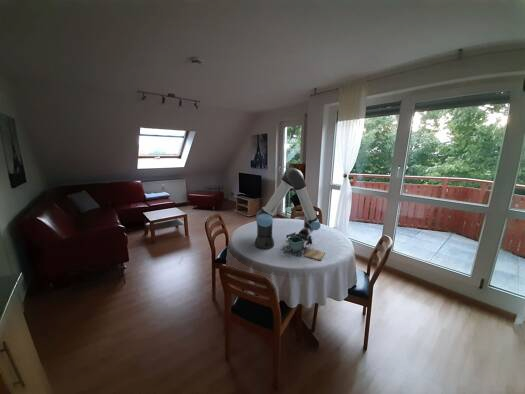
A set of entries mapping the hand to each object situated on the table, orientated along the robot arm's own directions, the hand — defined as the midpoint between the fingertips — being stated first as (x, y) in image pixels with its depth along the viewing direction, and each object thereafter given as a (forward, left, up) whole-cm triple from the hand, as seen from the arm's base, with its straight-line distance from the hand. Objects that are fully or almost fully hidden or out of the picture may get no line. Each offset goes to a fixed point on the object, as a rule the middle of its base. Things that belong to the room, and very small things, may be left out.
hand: (295, 243), depth 151 cm
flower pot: (0, +2, -7) cm, 7 cm away
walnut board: (+14, +3, -6) cm, 15 cm away
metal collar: (0, +2, -6) cm, 7 cm away
